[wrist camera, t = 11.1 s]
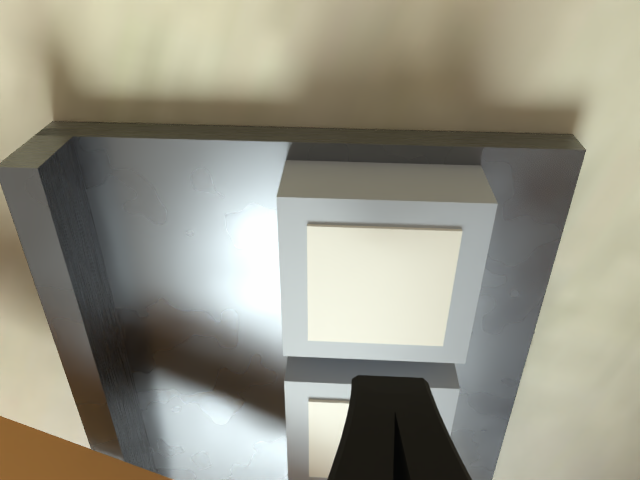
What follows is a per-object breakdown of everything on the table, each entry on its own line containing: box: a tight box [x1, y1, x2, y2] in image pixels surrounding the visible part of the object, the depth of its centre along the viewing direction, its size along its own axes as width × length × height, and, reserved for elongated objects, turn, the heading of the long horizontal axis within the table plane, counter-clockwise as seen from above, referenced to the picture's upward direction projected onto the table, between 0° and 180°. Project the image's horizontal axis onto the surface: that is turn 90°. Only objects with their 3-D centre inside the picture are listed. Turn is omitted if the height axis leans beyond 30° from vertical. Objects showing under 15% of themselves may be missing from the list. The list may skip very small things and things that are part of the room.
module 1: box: [276, 160, 498, 364], centre depth 15 cm, size 5×5×2 cm
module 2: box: [284, 356, 460, 480], centre depth 18 cm, size 5×5×2 cm
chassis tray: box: [0, 121, 586, 480], centre depth 18 cm, size 14×17×4 cm
